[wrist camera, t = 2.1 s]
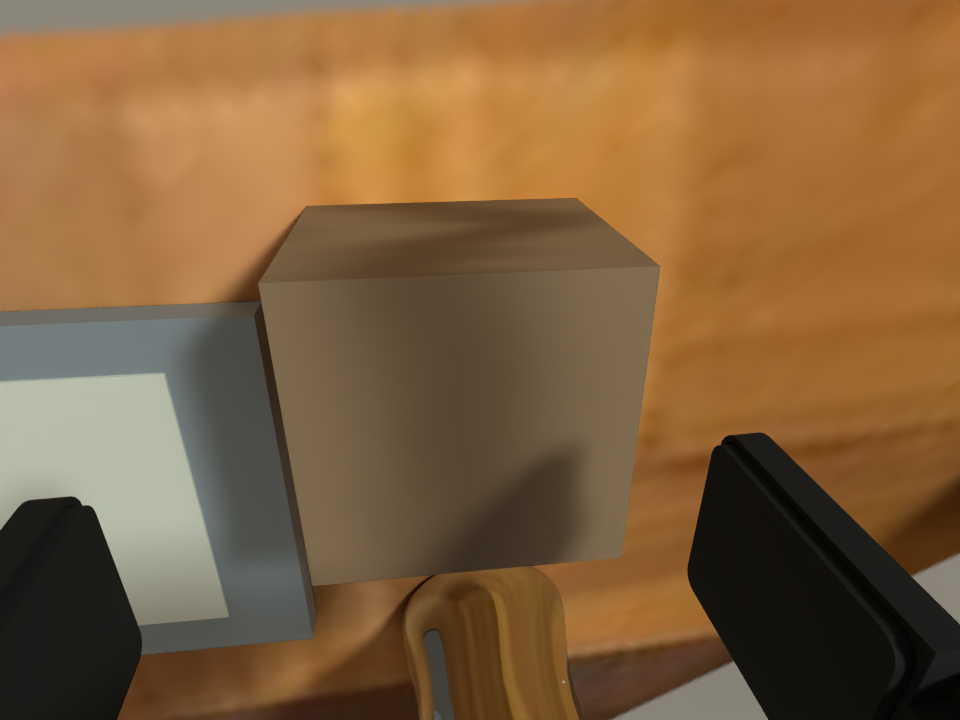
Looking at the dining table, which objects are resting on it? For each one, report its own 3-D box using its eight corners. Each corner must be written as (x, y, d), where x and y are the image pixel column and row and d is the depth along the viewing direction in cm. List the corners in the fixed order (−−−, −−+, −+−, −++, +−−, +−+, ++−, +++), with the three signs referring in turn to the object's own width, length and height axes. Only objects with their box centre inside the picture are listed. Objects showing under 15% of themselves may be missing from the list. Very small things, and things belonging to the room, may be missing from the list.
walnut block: (574, 196, 16) (660, 265, 11) (560, 419, 19) (621, 557, 14) (307, 205, 15) (258, 283, 10) (337, 434, 19) (311, 586, 13)
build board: (261, 300, 16) (252, 316, 15) (316, 614, 22) (312, 640, 21) (-325, 325, 15) (-377, 344, 14) (-111, 654, 20) (-137, 684, 19)
